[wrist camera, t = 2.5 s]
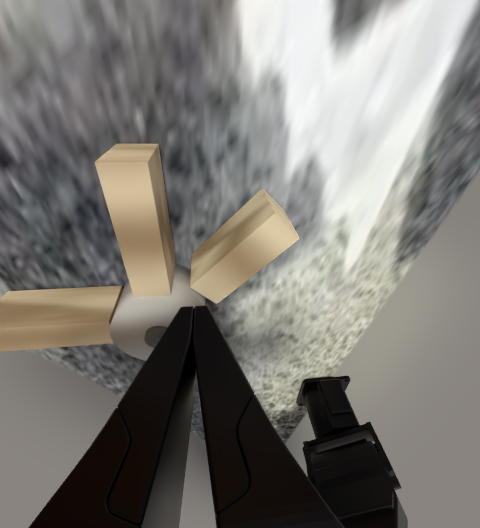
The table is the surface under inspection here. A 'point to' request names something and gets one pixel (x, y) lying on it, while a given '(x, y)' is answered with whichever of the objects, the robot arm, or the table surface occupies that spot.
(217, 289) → the folding leg
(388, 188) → the table surface
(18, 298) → the stool base
